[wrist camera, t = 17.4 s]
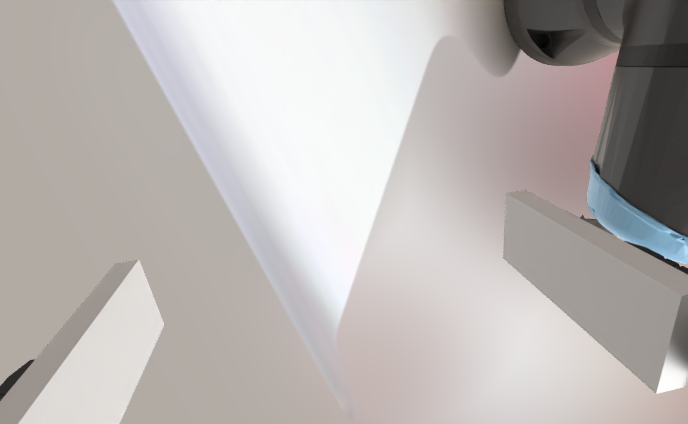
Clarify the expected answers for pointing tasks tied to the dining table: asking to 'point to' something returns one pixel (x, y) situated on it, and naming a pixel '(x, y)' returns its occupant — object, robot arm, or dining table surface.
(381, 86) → the dining table surface
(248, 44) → the dining table surface
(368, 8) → the dining table surface
